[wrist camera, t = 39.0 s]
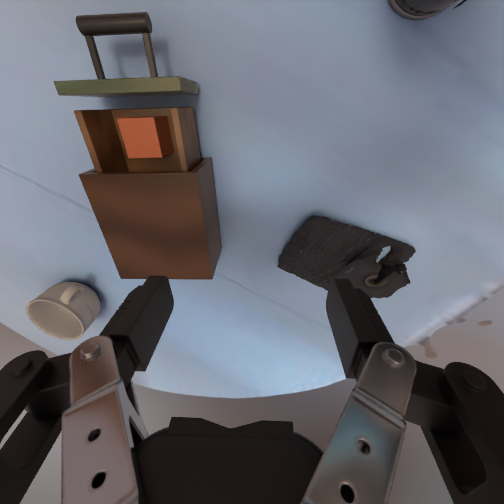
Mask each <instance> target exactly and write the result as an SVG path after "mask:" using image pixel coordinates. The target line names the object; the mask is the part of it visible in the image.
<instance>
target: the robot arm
mask: <svg viewBox="0 0 504 504" xmlns="http://www.w3.org/2000/svg"><path fill="white" fill-rule="evenodd" d="M388 1H389V3H390V5H391V6H392V8H393V9H394V10H395V11H396V12H397V13H398V14H399V15H401V16H402V17H404V18H407V19H412V20H420V19H425V18H428V17H431V16H433V15H435V14H437V13H439V12H441V11H443V10H444V9H446V8H447V7H449V6H450V5H452V4H454V3H456V2H458V1H460V0H388ZM465 1H466V0H463V1H462V2H461V3H460V4H458V5H457V6H456V7H458V6H460V5H461V4H463V3H464V2H465ZM456 7H455V8H456ZM453 9H454V8H453ZM173 306H174V299H173V295H172V291H171V288H170V284H169V280H168V278H167V276H149V277H148V278H147V280H146V281H145V283H144V284H143V286H138V287H137V288H135V289H134V290H133V291H131V292H130V293H129V294H128V296H127V297H126V299H125V300H124V303H122V304H121V306H120V307H119V310H117V311H116V312H115V314H114V315H113V317H112V318H111V319H110V321H109V322H108V324H107V325H106V326H105V328H104V329H103V331H102V332H101V333H100V335H99V336H96V337H93V338H90V339H88V340H86V341H84V342H83V343H81V344H80V345H79V346H77V347H76V348H75V350H74V351H73V352H72V353H68V354H64V355H60V356H56V357H53V358H48V356H47V355H46V354H45V353H44V352H43V351H39V350H36V351H31V352H27V353H24V354H22V355H20V356H18V357H16V358H15V359H13V360H12V361H10V362H9V363H8V364H6V365H5V366H4V367H3V368H2V369H1V370H0V443H1V441H2V439H3V437H4V436H5V434H6V433H7V432H8V430H9V429H10V427H11V426H12V425H13V423H14V422H15V421H16V419H17V418H18V417H19V415H20V414H21V413H22V411H23V410H24V409H25V410H26V411H27V413H26V415H25V416H24V418H23V419H22V420H21V422H20V423H19V424H18V426H17V427H16V429H15V430H14V431H13V433H12V434H11V436H10V437H9V439H8V440H7V441H6V443H5V444H4V445H3V447H2V448H1V450H0V504H19V503H20V502H21V500H22V498H23V497H24V495H25V493H26V492H27V490H28V488H29V486H30V484H31V483H32V481H33V479H34V478H35V476H36V474H37V472H38V470H39V469H40V467H41V465H42V464H43V462H44V460H45V458H46V457H47V455H48V453H49V451H50V450H51V448H52V446H53V444H54V443H55V441H56V439H57V437H58V436H59V434H60V432H61V430H62V480H61V481H62V482H61V483H62V484H61V486H62V487H61V489H62V490H61V498H62V500H61V504H388V501H389V497H390V492H391V488H392V484H393V480H394V476H395V472H396V468H397V464H398V460H399V455H400V452H401V448H402V443H403V439H404V435H405V431H406V422H404V420H406V421H409V422H411V423H414V424H417V425H419V426H421V429H422V431H423V433H424V435H425V438H426V440H427V442H428V445H429V447H430V449H431V452H432V454H433V456H434V458H435V461H436V463H437V466H438V468H439V470H440V472H441V475H442V477H443V480H444V482H445V484H446V486H447V489H448V491H449V494H450V496H451V498H452V500H453V503H454V504H504V394H503V392H502V391H501V390H500V389H499V387H498V386H497V385H496V384H495V382H494V381H493V380H492V379H491V378H490V377H489V376H487V375H486V374H485V373H484V372H482V371H481V370H479V369H477V368H476V367H473V366H471V365H469V364H466V363H462V362H452V363H449V364H448V365H447V366H446V367H445V369H442V368H439V367H435V366H432V365H428V364H425V363H421V362H419V361H416V360H414V358H413V357H412V355H411V354H410V353H409V352H408V351H406V350H405V349H404V348H402V347H401V346H399V345H397V344H395V343H394V341H393V339H392V337H391V335H390V334H389V332H388V330H387V328H386V326H385V324H384V323H383V321H382V319H381V317H380V315H379V314H378V312H377V310H376V308H375V307H374V304H373V302H372V301H371V299H370V297H369V296H368V295H367V294H366V293H365V292H364V291H363V290H362V289H360V288H354V287H353V285H352V283H351V281H350V279H349V278H348V277H332V278H331V280H330V284H329V289H328V295H327V300H326V311H327V315H328V319H329V322H330V325H331V329H332V332H333V336H334V339H335V342H336V346H337V349H338V352H339V356H340V359H341V362H342V366H343V369H344V372H345V376H346V378H354V379H356V382H357V383H356V386H355V388H354V389H353V390H352V392H351V395H350V397H349V399H348V401H347V403H346V405H345V408H344V410H343V412H342V414H341V416H340V418H339V420H338V423H337V425H336V427H335V429H334V431H333V433H332V436H331V438H330V440H329V442H328V444H327V447H326V449H325V451H323V450H322V449H321V448H320V447H318V446H317V445H316V444H315V443H314V442H313V441H311V440H310V439H308V438H306V437H305V436H303V435H301V434H299V433H297V432H294V431H293V423H292V422H288V421H258V422H255V423H251V424H247V425H243V426H240V427H236V428H226V427H224V426H221V425H218V424H215V423H213V422H210V421H207V420H205V419H202V418H187V417H185V418H184V417H172V418H171V421H170V424H169V427H167V428H164V429H161V430H159V431H157V432H155V433H153V434H151V435H150V436H149V435H148V432H147V430H146V427H145V425H144V422H143V419H142V415H141V411H140V407H139V403H138V399H137V396H136V392H135V388H134V384H133V381H132V377H133V375H134V372H135V371H146V369H147V366H148V364H149V362H150V360H151V357H152V355H153V353H154V351H155V348H156V346H157V344H158V342H159V340H160V337H161V335H162V333H163V331H164V328H165V326H166V324H167V322H168V319H169V317H170V315H171V313H172V310H173Z"/></svg>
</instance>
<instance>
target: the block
mask: <svg viewBox="0 0 504 504" xmlns="http://www.w3.org/2000/svg"><path fill="white" fill-rule="evenodd" d="M117 121H118V124H119V128H120V131H121V135H122V138H123V141H124V145H125V148H126V152H127V155H128V158H162V157H164V156H166V155H168V154H170V153H172V152H174V150H173V145H172V140H171V134H170V129H169V124H168V119H167V116H141V117H126V118H117Z"/></svg>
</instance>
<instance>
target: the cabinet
mask: <svg viewBox="0 0 504 504" xmlns="http://www.w3.org/2000/svg"><path fill="white" fill-rule="evenodd" d="M200 159H201V163H200V164H198V165H197V166H196V167H195V168H194V169H193V170H192V171H154V172H96V170H95V169H92V170H89V171H87V172H84V173H81V174H79V177H80V179H81V181H82V184H83V186H84V189H85V191H86V194H87V196H88V199H89V201H90V204H91V206H92V209H93V211H94V213H95V216H96V218H97V221H98V223H99V226H100V228H101V231H102V233H103V236H104V238H105V240H106V243H107V245H108V248H109V250H110V253H111V255H112V258H113V260H114V263H115V265H116V268H117V270H118V272H119V275H120V277H121V279H147V278H148V277H149V276H167V278H168V279H213V275H214V272H215V269H216V265H217V262H218V259H219V255H220V252H221V249H222V245H221V236H220V227H219V218H218V209H217V200H216V191H215V182H214V173H213V164H212V158H211V157H207V158H200Z"/></svg>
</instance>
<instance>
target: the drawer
mask: <svg viewBox="0 0 504 504" xmlns="http://www.w3.org/2000/svg"><path fill="white" fill-rule="evenodd" d="M76 23H77V26H78V29H79V30H80V32H81V33H82V34H83V35H84V36H85V38H86V42H87V45H88V48H89V52H90V55H91V58H92V61H93V65H94V68H95V71H96V75H97V78H98V80H72V81H54V84H55V86H56V89H57V92H58V94H59V95H65V96H86V97H120V96H149V95H178V94H198V85H197V82H194V81H191V80H188V79H185V78H182V77H179V76H176V77H158V74H157V69H156V63H155V58H154V53H153V48H152V42H151V37H150V34H149V33H152V24H151V20H150V17H149V15H148V14H147V13H146V12H138V13H120V14H101V15H82V16H77V17H76ZM123 34H143V39H144V44H145V49H146V54H147V59H148V64H149V69H150V74H151V77H150V78H124V79H105V75H104V72H103V68H102V65H101V61H100V58H99V55H98V51H97V48H96V44H95V41H94V37H93V36H102V35H123ZM74 113H75V115H76V118H77V121H78V124H79V126H80V129H81V132H82V135H83V137H84V140H85V143H86V146H87V148H88V151H89V154H90V156H91V159H92V162H93V165H94V167H95V170H96V172H154V171H192V170H193V169H194V168H195V167H196V166H197V165H198V164H200V163H201V159H200V152H199V144H198V137H197V129H196V122H195V115H194V107H171V108H140V109H108V110H75V111H74ZM141 116H167V119H168V124H169V129H170V134H171V140H172V145H173V150H174V152H172V153H170V154H168V155H166V156H164V157H162V158H128V155H127V152H126V148H125V145H124V141H123V138H122V135H121V131H120V128H119V124H118V121H117V118H126V117H141Z"/></svg>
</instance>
